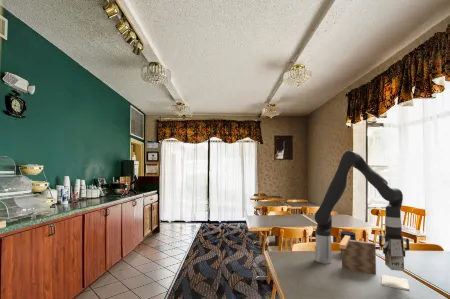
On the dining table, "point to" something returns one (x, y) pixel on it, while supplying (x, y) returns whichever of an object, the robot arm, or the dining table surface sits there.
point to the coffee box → (394, 254)
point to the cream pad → (395, 282)
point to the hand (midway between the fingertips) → (394, 256)
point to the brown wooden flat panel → (359, 257)
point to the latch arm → (344, 242)
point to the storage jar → (347, 233)
